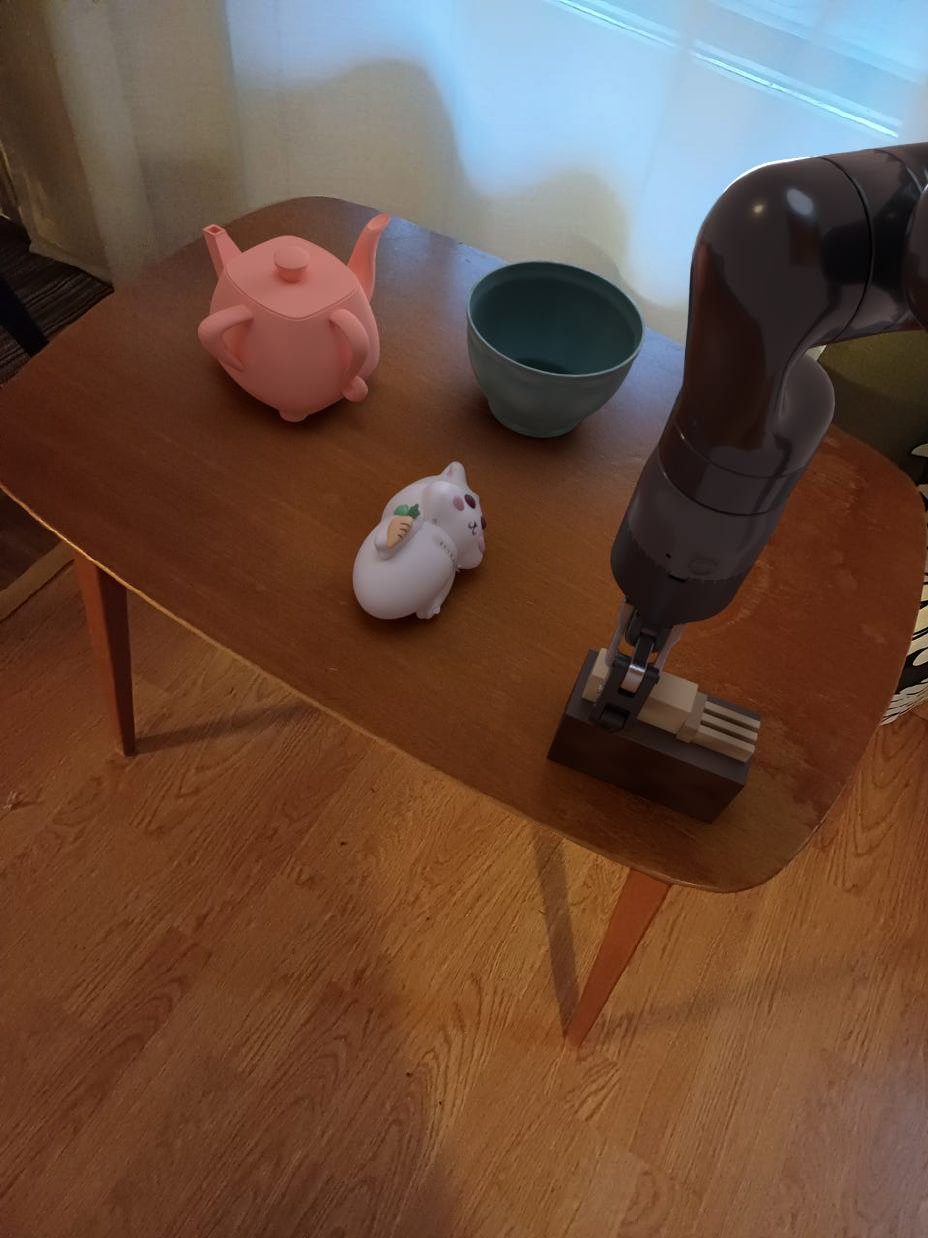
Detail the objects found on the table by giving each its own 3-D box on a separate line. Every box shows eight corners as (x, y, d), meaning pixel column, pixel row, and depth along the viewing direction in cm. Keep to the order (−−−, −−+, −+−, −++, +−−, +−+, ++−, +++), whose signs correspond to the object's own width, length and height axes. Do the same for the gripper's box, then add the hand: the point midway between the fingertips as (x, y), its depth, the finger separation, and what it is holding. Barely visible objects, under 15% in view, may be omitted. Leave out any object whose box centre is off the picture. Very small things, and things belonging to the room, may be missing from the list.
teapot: (214, 318, 93) (199, 193, 82) (383, 323, 96) (390, 202, 85) (207, 434, 84) (189, 311, 73) (393, 436, 87) (403, 318, 76)
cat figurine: (377, 572, 66) (479, 433, 72) (302, 560, 71) (404, 430, 77) (433, 655, 72) (523, 520, 79) (361, 639, 77) (451, 512, 84)
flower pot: (478, 333, 96) (493, 240, 87) (628, 376, 95) (659, 286, 86) (433, 436, 87) (444, 344, 78) (598, 485, 86) (628, 397, 77)
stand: (727, 757, 72) (761, 714, 66) (711, 824, 68) (745, 785, 62) (569, 694, 73) (589, 647, 67) (546, 757, 70) (565, 713, 64)
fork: (580, 701, 65) (590, 677, 62) (592, 667, 66) (602, 643, 64) (744, 765, 63) (762, 744, 61) (753, 730, 65) (770, 708, 62)
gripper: (663, 415, 54) (599, 579, 68) (594, 592, 46) (536, 738, 60) (786, 458, 54) (697, 616, 67) (737, 646, 46) (646, 782, 59)
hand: (621, 673), depth 63 cm, fingers open, 8 cm apart
